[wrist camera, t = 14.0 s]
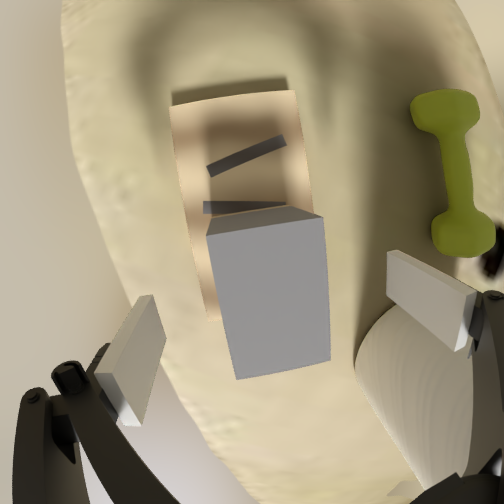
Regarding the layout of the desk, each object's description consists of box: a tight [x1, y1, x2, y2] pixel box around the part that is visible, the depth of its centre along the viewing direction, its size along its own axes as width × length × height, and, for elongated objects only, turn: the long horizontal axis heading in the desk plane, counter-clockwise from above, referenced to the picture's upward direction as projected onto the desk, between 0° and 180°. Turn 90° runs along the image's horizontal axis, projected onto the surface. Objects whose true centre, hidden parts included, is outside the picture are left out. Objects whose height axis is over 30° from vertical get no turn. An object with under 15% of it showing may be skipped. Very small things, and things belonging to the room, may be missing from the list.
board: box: [169, 90, 314, 322], centre depth 23 cm, size 18×10×2 cm, turn 9°
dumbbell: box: [410, 89, 496, 258], centre depth 21 cm, size 16×8×7 cm, turn 14°
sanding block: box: [206, 205, 331, 380], centre depth 19 cm, size 9×6×8 cm, turn 8°
